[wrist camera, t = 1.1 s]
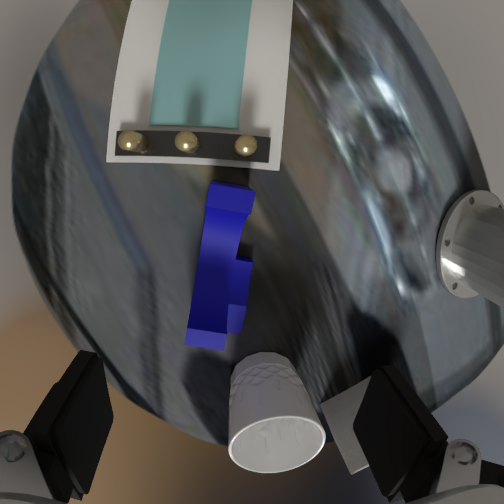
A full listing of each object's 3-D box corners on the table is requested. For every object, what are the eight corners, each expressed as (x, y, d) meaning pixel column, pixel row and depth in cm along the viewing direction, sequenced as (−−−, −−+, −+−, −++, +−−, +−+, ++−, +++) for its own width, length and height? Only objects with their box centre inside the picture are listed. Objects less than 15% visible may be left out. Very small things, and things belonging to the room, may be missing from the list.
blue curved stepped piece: (239, 318, 29) (243, 353, 23) (191, 310, 29) (184, 344, 23) (265, 190, 26) (277, 196, 20) (213, 180, 26) (209, 183, 20)
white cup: (239, 337, 30) (247, 408, 20) (312, 354, 31) (342, 421, 21) (216, 395, 31) (217, 467, 22) (283, 408, 33) (301, 475, 23)
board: (290, -9, 21) (294, -18, 19) (276, 170, 26) (279, 170, 24) (141, -15, 20) (138, -23, 18) (112, 162, 24) (105, 162, 23)
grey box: (320, 403, 33) (345, 467, 23) (370, 375, 33) (408, 432, 23) (330, 419, 34) (355, 479, 24) (378, 393, 34) (413, 448, 24)
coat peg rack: (269, 138, 23) (278, 133, 20) (267, 163, 24) (275, 162, 20) (119, 131, 22) (102, 126, 18) (117, 156, 23) (99, 154, 19)
